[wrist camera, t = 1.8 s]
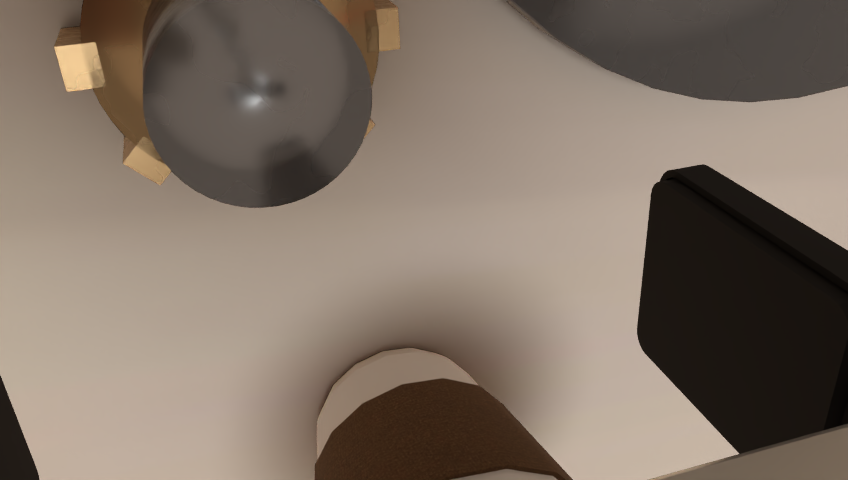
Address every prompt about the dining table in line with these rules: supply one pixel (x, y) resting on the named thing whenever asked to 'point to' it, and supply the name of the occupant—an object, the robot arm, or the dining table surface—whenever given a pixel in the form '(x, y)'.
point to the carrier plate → (707, 43)
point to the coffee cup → (422, 426)
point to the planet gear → (233, 88)
